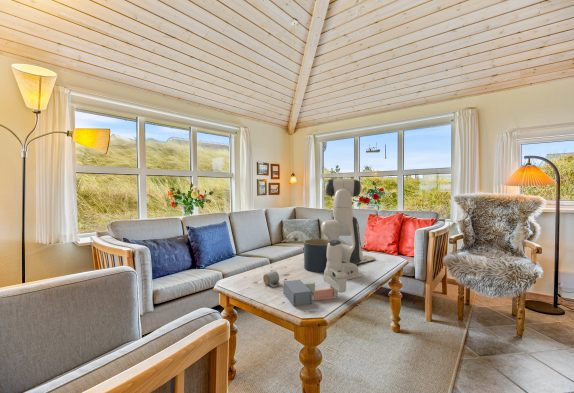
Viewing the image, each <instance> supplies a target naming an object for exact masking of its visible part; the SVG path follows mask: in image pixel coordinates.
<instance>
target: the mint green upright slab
mask: <svg viewBox="0 0 574 393" xmlns="http://www.w3.org/2000/svg"><path fill="white" fill-rule="evenodd" d="M303 283H304V284H305V285H306V286H307V287H308V288H309V289H310V290H311V291H312V292H313V293H314V290H316V283H315V282H306V283H305V282H303Z"/></svg>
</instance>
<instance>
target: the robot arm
mask: <svg viewBox="0 0 574 393" xmlns="http://www.w3.org/2000/svg"><path fill="white" fill-rule="evenodd" d="M324 190H325V193H326V194H327V196H330V198H332V197H333V201H332V216H333V218H334V219H328V220H324V221H323V222H322V223H321V225H320V228H321V229H320V230H321V232H322V233H323V235H324V236H326V238H327V239H328V240H330V241H329V242H328V245H327V255H326V257H327V263H326V269H325V270H324V272H323V280H324V282H325V283H327V285H329V288H334V292H333V295H334V296H337V293H338V294H340V293H341V294H342V293H346V292H347V281H349V280H354V279H357V278H362V277H363V274H362V272H360V271H359V268H358V266H357V265H355V264H357V263H359V262H361V261H362V258H363V256H364V253H363V247H362V243H361V235H360V234H361V233H360V225H359V222H358V219H357V217H355V216H354V213H353V197H354V198H356V197H359V196H360V194H361V192H362V184H361V181H359V180H358V179H348V178H336V179H334V178H330V179H328V180H326V183H325V184H324ZM341 236H342V237H343V236H344V237H347V236H348V237H349V236H351V245H349V244H348V243H347V242H346V241H344V240H342V239H340V237H341Z"/></svg>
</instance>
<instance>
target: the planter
mask: <svg viewBox="0 0 574 393" xmlns="http://www.w3.org/2000/svg"><path fill="white" fill-rule="evenodd" d="M329 241H330V240H329V239H325V238H324V239H323V238H311V239H305V240H304V241H303V267H304V270H306V271H307V272H311V273H318V274H319V273H321V274H322V273H323V274H324V270H325V269H326V263H327V257H326V255H327V245H328V242H329Z"/></svg>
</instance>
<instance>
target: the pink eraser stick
mask: <svg viewBox="0 0 574 393" xmlns="http://www.w3.org/2000/svg"><path fill="white" fill-rule="evenodd" d="M333 292H334V288H330V287H329V288H321V289H315V290H314V292H313V300H314V301H318V300H325V299H333V298H338V297H339V295H338V294H339V292H338V293H337V296H334V295H333Z"/></svg>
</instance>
